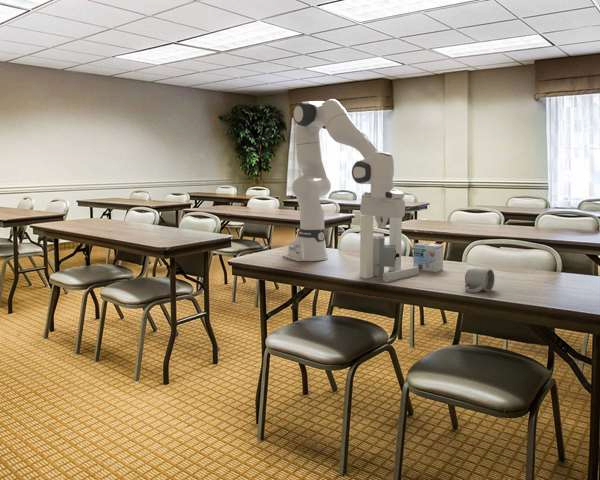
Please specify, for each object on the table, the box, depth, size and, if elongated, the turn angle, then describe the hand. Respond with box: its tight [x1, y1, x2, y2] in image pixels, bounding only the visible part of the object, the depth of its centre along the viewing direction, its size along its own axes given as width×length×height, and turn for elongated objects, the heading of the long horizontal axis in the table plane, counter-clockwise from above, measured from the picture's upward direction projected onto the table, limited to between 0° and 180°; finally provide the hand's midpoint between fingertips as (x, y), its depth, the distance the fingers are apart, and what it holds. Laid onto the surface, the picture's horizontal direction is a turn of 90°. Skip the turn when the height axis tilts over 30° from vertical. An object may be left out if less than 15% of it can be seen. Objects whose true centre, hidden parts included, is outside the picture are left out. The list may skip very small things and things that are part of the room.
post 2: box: [388, 217, 403, 272], centre depth 218 cm, size 4×4×24 cm
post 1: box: [359, 215, 374, 279], centre depth 206 cm, size 4×4×24 cm
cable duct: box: [382, 266, 420, 283], centre depth 207 cm, size 2×20×3 cm, turn 132°
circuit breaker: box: [373, 235, 399, 277], centre depth 213 cm, size 8×14×15 cm, turn 78°
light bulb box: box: [412, 241, 445, 273], centre depth 222 cm, size 11×7×11 cm, turn 47°
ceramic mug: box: [464, 268, 496, 294], centre depth 185 cm, size 11×8×8 cm
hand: (381, 227), depth 212 cm, fingers closed
